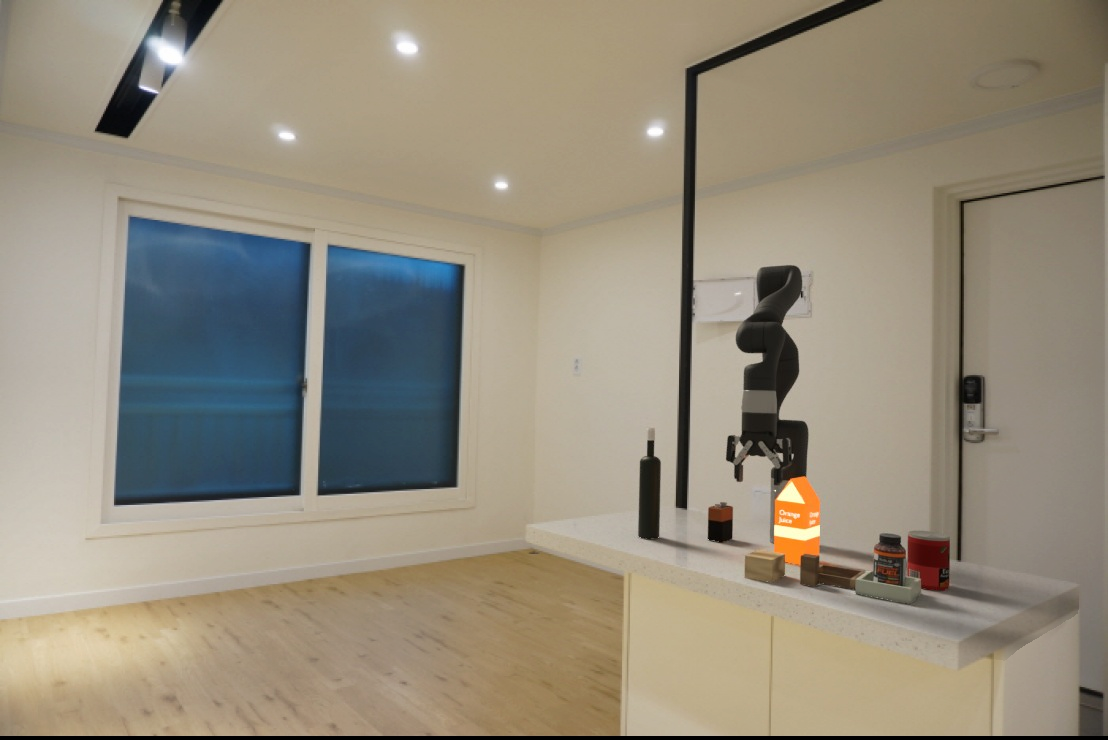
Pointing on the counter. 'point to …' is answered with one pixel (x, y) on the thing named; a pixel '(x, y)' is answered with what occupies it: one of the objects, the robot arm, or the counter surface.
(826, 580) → the frame
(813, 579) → the post
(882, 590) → the tray
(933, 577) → the canned food
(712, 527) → the battery
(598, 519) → the counter surface
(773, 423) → the robot arm
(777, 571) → the natural wood cube
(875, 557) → the supplement bottle
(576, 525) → the counter surface
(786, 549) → the orange juice
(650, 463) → the wine bottle
